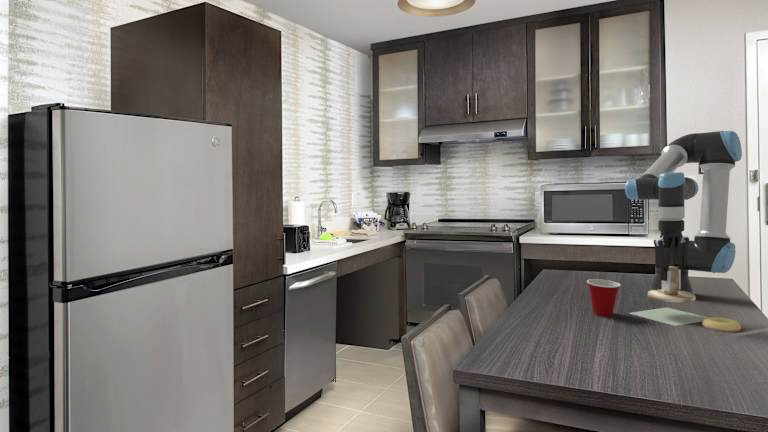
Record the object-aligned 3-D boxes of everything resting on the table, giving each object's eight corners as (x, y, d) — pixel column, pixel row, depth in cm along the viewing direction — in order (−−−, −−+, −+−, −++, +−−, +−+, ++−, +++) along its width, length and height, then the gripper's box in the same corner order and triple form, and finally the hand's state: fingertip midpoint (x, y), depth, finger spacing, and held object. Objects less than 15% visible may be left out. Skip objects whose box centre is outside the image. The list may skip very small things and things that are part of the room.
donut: (730, 343, 153) (745, 333, 158) (732, 329, 152) (747, 319, 157) (695, 330, 162) (710, 321, 166) (697, 317, 160) (712, 308, 165)
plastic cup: (616, 321, 171) (616, 285, 170) (582, 317, 177) (582, 282, 177) (624, 314, 179) (624, 280, 179) (592, 310, 186) (592, 277, 185)
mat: (666, 309, 185) (666, 307, 185) (715, 321, 168) (715, 319, 168) (628, 315, 179) (628, 313, 178) (674, 328, 162) (674, 325, 162)
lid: (668, 291, 182) (668, 262, 182) (705, 299, 169) (705, 268, 169) (638, 295, 177) (638, 266, 177) (674, 304, 164) (674, 272, 164)
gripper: (679, 217, 178) (679, 284, 180) (642, 220, 172) (642, 290, 174) (700, 218, 171) (699, 288, 173) (662, 221, 165) (662, 294, 167)
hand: (671, 289), depth 173 cm, fingers closed on lid, 4 cm apart
